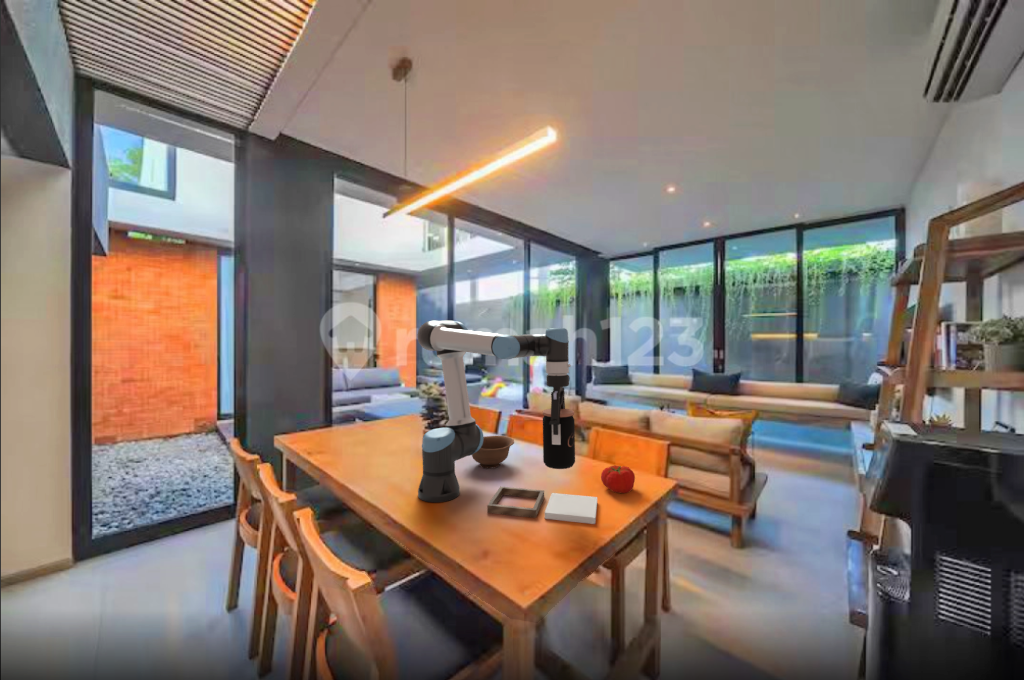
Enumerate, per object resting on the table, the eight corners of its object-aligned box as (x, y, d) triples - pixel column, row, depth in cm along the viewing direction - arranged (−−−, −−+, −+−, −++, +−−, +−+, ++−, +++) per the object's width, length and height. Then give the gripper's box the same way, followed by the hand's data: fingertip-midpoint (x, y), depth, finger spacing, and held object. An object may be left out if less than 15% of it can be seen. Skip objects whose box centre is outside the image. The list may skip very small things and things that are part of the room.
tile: (544, 518, 133) (544, 512, 133) (551, 498, 148) (551, 492, 148) (595, 524, 129) (595, 517, 129) (597, 502, 144) (597, 497, 144)
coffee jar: (574, 470, 132) (573, 414, 132) (541, 469, 135) (540, 414, 134) (576, 460, 143) (575, 408, 142) (545, 458, 145) (544, 407, 145)
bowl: (471, 456, 196) (471, 433, 196) (517, 458, 193) (517, 435, 193) (459, 472, 175) (459, 446, 174) (510, 475, 172) (510, 448, 171)
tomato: (608, 481, 165) (608, 459, 164) (640, 488, 157) (640, 465, 157) (594, 492, 153) (594, 469, 153) (627, 500, 146) (627, 476, 146)
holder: (487, 512, 137) (487, 505, 137) (500, 493, 153) (500, 486, 153) (535, 517, 133) (535, 510, 133) (544, 497, 149) (544, 490, 149)
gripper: (564, 378, 126) (565, 450, 126) (572, 370, 148) (573, 431, 149) (540, 378, 128) (541, 448, 128) (551, 370, 150) (553, 430, 151)
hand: (558, 439), depth 139 cm, fingers closed on coffee jar, 11 cm apart
